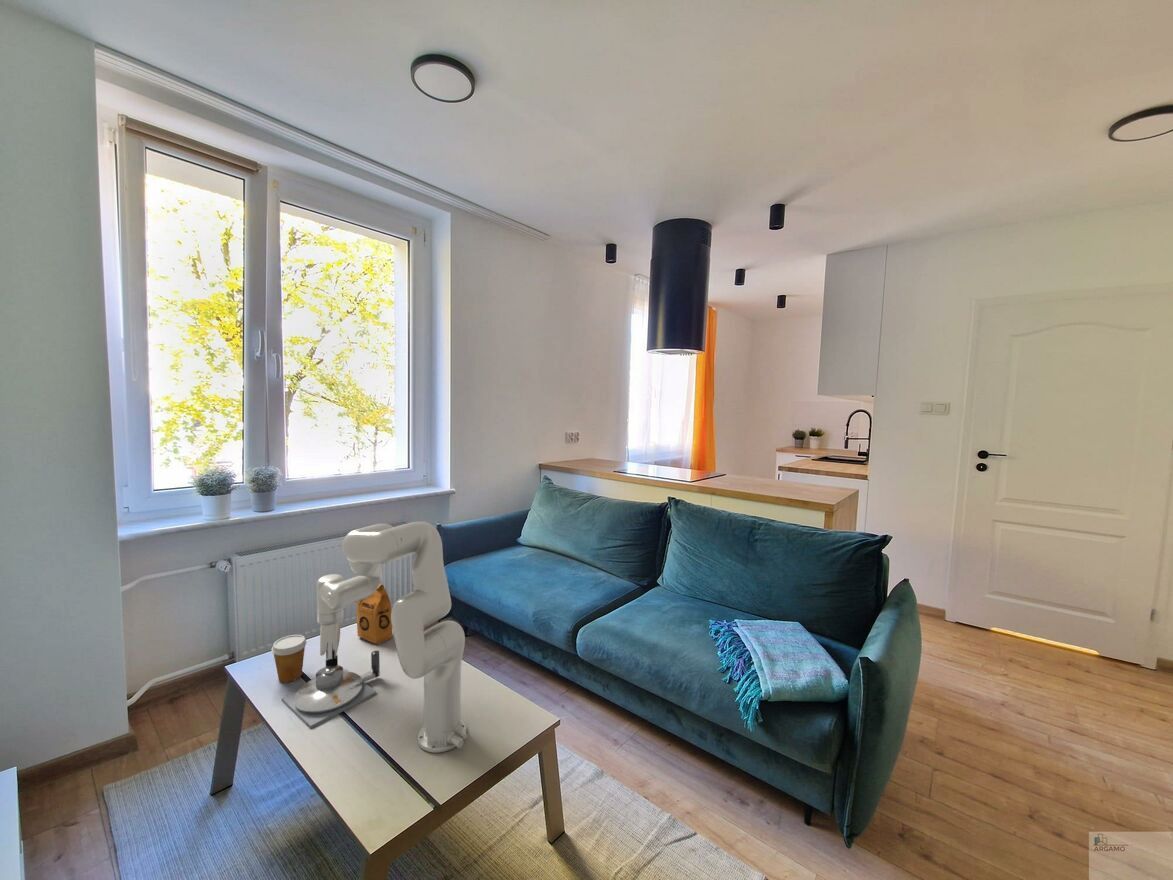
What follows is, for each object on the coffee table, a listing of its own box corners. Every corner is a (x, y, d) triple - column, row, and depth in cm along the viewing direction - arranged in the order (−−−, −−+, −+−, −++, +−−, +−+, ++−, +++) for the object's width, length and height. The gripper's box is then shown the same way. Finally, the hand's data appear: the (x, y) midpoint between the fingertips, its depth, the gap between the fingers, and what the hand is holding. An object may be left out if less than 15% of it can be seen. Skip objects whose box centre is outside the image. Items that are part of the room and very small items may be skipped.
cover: (348, 681, 143) (347, 668, 143) (322, 693, 137) (322, 679, 137) (336, 672, 148) (336, 659, 147) (311, 683, 142) (311, 670, 141)
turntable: (303, 722, 127) (302, 696, 126) (288, 691, 140) (287, 667, 139) (390, 687, 144) (390, 663, 143) (369, 662, 156) (369, 640, 156)
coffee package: (373, 648, 167) (372, 590, 165) (353, 638, 173) (352, 581, 171) (397, 636, 175) (396, 581, 173) (377, 627, 182) (377, 573, 180)
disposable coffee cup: (314, 669, 153) (313, 635, 152) (293, 687, 144) (292, 650, 143) (287, 667, 154) (286, 632, 153) (265, 684, 145) (263, 648, 144)
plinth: (376, 693, 142) (376, 691, 142) (310, 728, 127) (310, 725, 126) (345, 670, 153) (345, 668, 153) (281, 700, 138) (281, 697, 138)
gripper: (320, 605, 151) (321, 658, 153) (314, 627, 137) (315, 685, 139) (346, 602, 154) (346, 654, 156) (342, 623, 141) (343, 680, 142)
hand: (331, 668), depth 148 cm, fingers closed
